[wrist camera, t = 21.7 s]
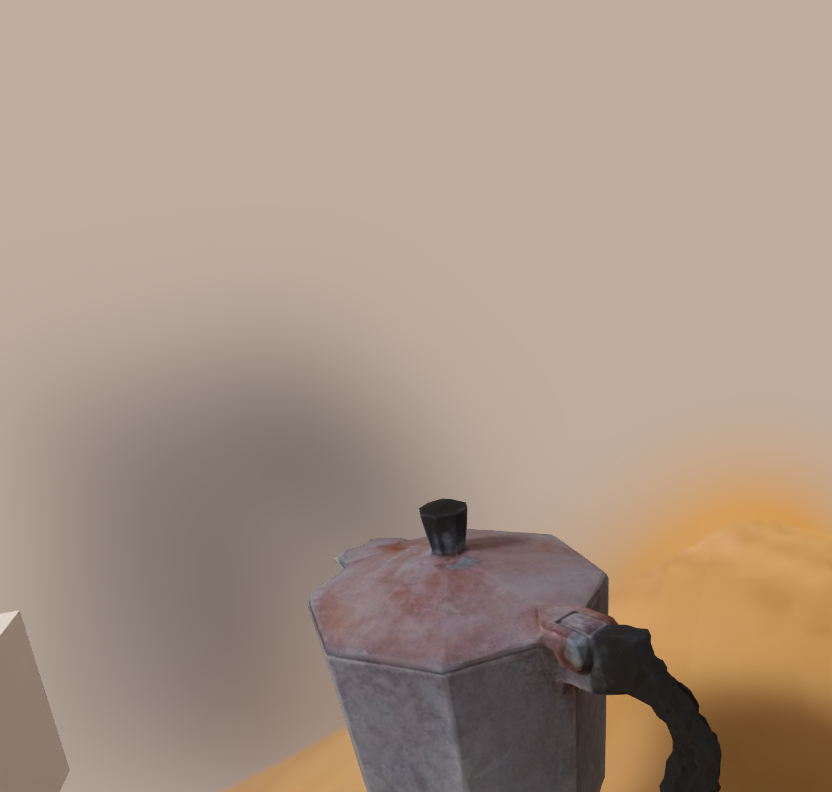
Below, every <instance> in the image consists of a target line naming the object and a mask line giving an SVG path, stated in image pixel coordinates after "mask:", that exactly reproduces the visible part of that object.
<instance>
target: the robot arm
mask: <svg viewBox="0 0 832 792" xmlns="http://www.w3.org/2000/svg"><path fill="white" fill-rule="evenodd" d="M68 772H69V767H68V763H67V760H66V757H65V754H64V751H63V747H62V744H61V741H60V738H59V735H58V732H57V728H56V725H55V722H54V719H53V716H52V712H51V709H50V706H49V703H48V700H47V696H46V693H45V690H44V687H43V684H42V681H41V677H40V674H39V671H38V668H37V665H36V661H35V658H34V655H33V652H32V648H31V645H30V642H29V639H28V636H27V633H26V629H25V626H24V623H23V620H22V617H21V613H20V611H14V612H8V613H3V614H0V792H60V790H61V788H62V785H63V783H64V781H65V779H66V777H67V774H68Z"/></svg>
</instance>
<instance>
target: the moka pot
mask: <svg viewBox="0 0 832 792" xmlns="http://www.w3.org/2000/svg"><path fill="white" fill-rule="evenodd" d="M419 510H420V516H421V519H422V523H423V526H424V529H425V531H426V535H427V536H426V537H422V538H419V539H413V540H406V539H403V538H379V539H371V540H370V541H369V542H368V543H366V544H365V545H362V546H360V547H357V548H353V549H349V550H346V551H344V552H342V553H341V554H340V555H339V556H338V557H335V558H334V561H335V562H336V563H337V564H339V565H340V566H341V567H342V569H343V570H342V571H341V572H339V573H338V574H337V575H335V576H334V577H333V578H331V579H330V580H329V581H328V582H326V583H325V584H324V585H322V586H321V587H320V588H318V589H317V590H316V591H314V592H313V593H312V594H311V596H310V602H309V610H310V613H311V616H312V619H313V622H314V626H315V629H316V632H317V635H318V638H319V640H320V644H321V647H322V650H323V653H324V656H325V660H326V662H327V666H328V669H329V672H330V675H331V678H332V681H333V684H334V687H335V691H336V694H337V696H338V699H339V702H340V705H341V708H342V712H343V715H344V718H345V721H346V725H347V728H348V731H349V734H350V737H351V741H352V744H353V747H354V751H355V754H356V757H357V761H358V764H359V767H360V770H361V773H362V776H363V779H364V782H365V786H366V789H367V792H600V789H601V786H602V783H603V780H604V778H605V739H606V695H621V694H628V695H630V696H632V697H635V698H636V699H638V700H640V701H642V702H644V703H646V704H648V705H650V706H651V707H652V708H653V710H654V712H655V713H656V715H657V716H658V717H659V718H660V719H661V720H663V721H664V722H665V723H666V724H667V726H668V729H669V731H670V734H671V736H672V740H673V751H672V753H671V755H670V756H669V758H668V759H667V761H666V768H665V776H664V779H663V781H662V782H661V784H660V786H659V787H660V792H719V791H720V788H721V787H720V785H719V782H718V780H719V776H720V762H721V749H720V744H719V742H718V740H717V736H716V734H715V733H714V732H712V731H711V729H710V727H709V725H708V723H707V720H706V718H705V717H703V716H702V715H701V714H699V704H698V702H697V700H696V699H695V697H694V696H693V694H692V692H691V691H690V690H689V689H688V688H687V687H686V686H684V685H683V684H682V683H680V682H678V681H677V680H676V679H675V678H674V677H672V676H671V675H670V674H669V673H668V672H667V667H666V665H665V663H664V662H663V660H661V659H659V658H657V657H656V656H655V654H654V651H653V648H652V645H651V635H650V633H649V630H648V629H640V628H635V627H632V626H628V625H618V623H617V622H616V621H615V620H614V618H612V617H610V616H608V576H607V575H606V573H604V572H603V571H602V570H601V569H599V568H598V567H597V566H596V565H594V564H593V563H591V562H590V561H589V560H587V559H585V558H584V557H583V556H582V555H580V554H579V553H578V552H576V551H574V550H573V549H572V548H570V547H569V546H568V545H566V544H565V543H564V542H562V541H561V540H559V539H558V538H556V537H555V536H552V535H548V534H536V533H520V532H504V531H493V530H473V529H467V528H466V527H467V505H466V503H465V502H461V501H456V500H452V499H440V500H436V501H433V502H430V503H427V504H426V505H424V506H422V507H421V508H419Z"/></svg>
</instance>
